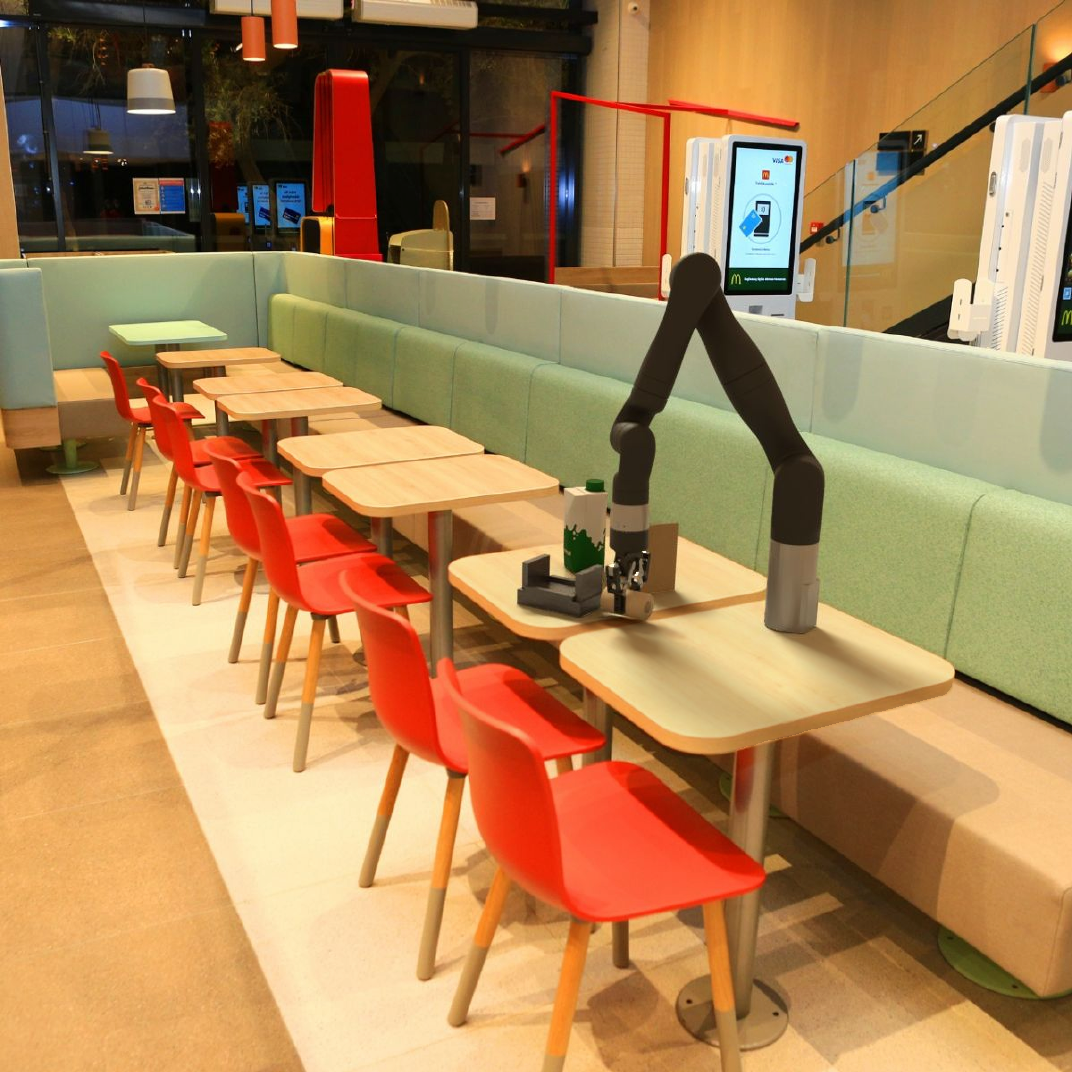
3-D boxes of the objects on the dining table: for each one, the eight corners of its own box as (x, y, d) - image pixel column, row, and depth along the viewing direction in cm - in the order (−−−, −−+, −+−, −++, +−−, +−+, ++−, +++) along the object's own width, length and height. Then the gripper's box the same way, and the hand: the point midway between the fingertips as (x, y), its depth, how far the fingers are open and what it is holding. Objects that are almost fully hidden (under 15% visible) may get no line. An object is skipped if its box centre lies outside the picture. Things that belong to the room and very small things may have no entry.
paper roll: (653, 618, 223) (655, 592, 222) (640, 622, 218) (642, 596, 217) (612, 609, 228) (614, 583, 227) (598, 613, 223) (600, 587, 222)
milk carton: (609, 572, 254) (612, 484, 248) (570, 575, 251) (573, 486, 246) (595, 561, 262) (598, 476, 256) (558, 564, 259) (560, 478, 254)
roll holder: (606, 605, 232) (607, 564, 229) (579, 618, 224) (580, 576, 221) (544, 591, 240) (545, 552, 238) (517, 603, 232) (517, 562, 230)
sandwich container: (642, 571, 256) (644, 506, 252) (676, 591, 242) (679, 522, 238) (607, 575, 252) (609, 509, 249) (640, 595, 239) (643, 525, 235)
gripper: (627, 535, 211) (625, 622, 215) (664, 520, 222) (661, 603, 226) (593, 529, 215) (591, 615, 219) (631, 514, 226) (628, 596, 231)
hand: (627, 608), depth 223 cm, fingers closed on paper roll, 5 cm apart
